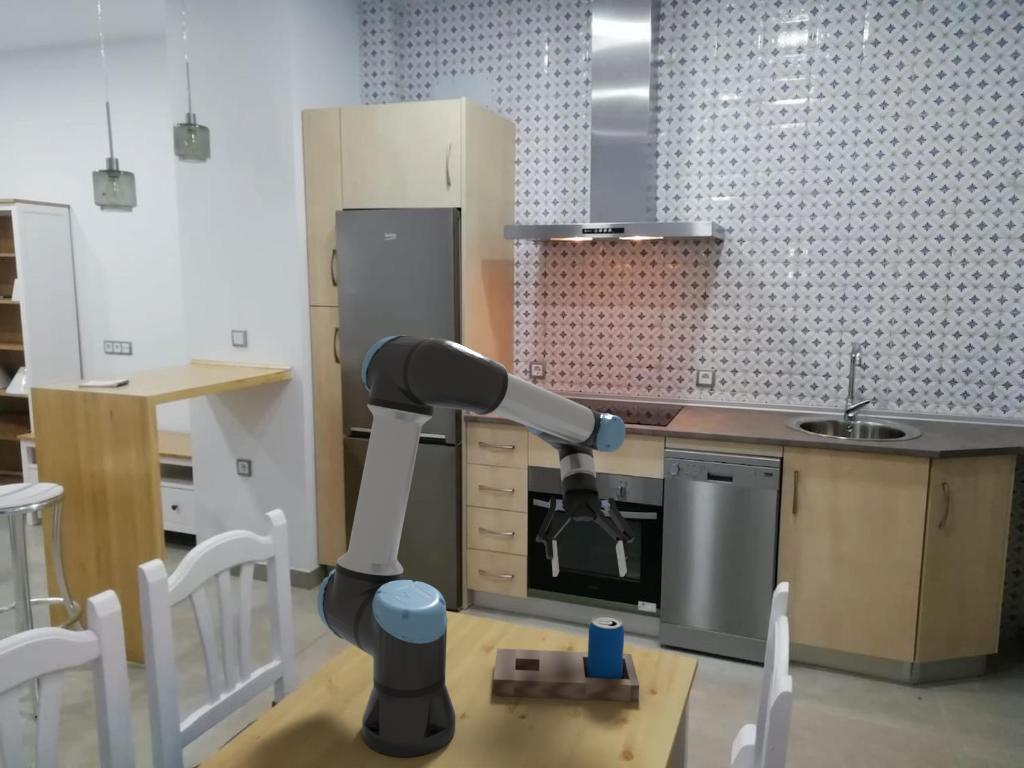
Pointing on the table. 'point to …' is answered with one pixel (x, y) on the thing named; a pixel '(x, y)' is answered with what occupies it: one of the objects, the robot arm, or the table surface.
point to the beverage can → (605, 647)
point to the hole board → (559, 676)
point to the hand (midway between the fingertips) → (590, 574)
